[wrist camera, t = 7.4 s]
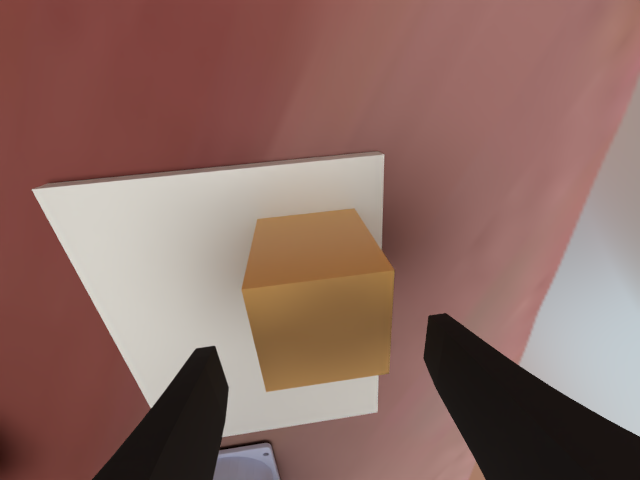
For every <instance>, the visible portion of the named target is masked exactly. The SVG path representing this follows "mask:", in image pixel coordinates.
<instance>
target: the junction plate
mask: <svg viewBox="0 0 640 480" xmlns="http://www.w3.org/2000/svg"><path fill="white" fill-rule="evenodd" d="M383 183H384V154H382V153H381V152H379V151H375V152H364V153H354V154H344V155H334V156H323V157H313V158H303V159H293V160H283V161H272V162H262V163H252V164H242V165H232V166H221V167H211V168H201V169H191V170H180V171H170V172H160V173H150V174H140V175H129V176H119V177H109V178H99V179H89V180H78V181H68V182H58V183H48V184H45V185H43V186H40V187H37V188H34V189H32V191H33V193H34V195H35V197H36V198H37V200H38V202H39V204H40V206H41V208H42V209H43V211H44V213H45V215H46V217H47V219H48V220H49V222H50V224H51V226H52V228H53V230H54V231H55V233H56V235H57V237H58V239H59V241H60V242H61V244H62V246H63V248H64V250H65V252H66V253H67V255H68V257H69V259H70V261H71V263H72V264H73V266H74V268H75V270H76V272H77V274H78V275H79V277H80V279H81V281H82V283H83V285H84V286H85V288H86V290H87V292H88V294H89V296H90V297H91V299H92V301H93V303H94V305H95V307H96V308H97V310H98V312H99V314H100V316H101V318H102V319H103V321H104V323H105V325H106V327H107V329H108V330H109V332H110V334H111V336H112V338H113V340H114V341H115V343H116V345H117V347H118V349H119V351H120V352H121V354H122V356H123V358H124V360H125V362H126V363H127V365H128V367H129V369H130V371H131V373H132V374H133V376H134V378H135V380H136V382H137V384H138V386H139V387H140V389H141V391H142V393H143V395H144V397H145V398H146V400H147V402H148V404H149V406H150V408H152V407H153V405H154V404H155V403H156V402H157V400H158V399H159V398H160V396H161V395H162V394H163V392H164V391H165V390H166V388H167V387H168V386H169V384H170V383H171V382H172V380H173V379H174V377H175V376H176V375H177V373H178V372H179V371H180V369H181V368H182V366H183V365H184V364H185V362H186V361H187V360H188V358H189V357H190V355H191V354H192V353H193V351H194V350H195V349H196V348H202V347H209V346H215V347H216V350H217V353H218V356H219V359H220V362H221V365H222V368H223V371H224V374H225V377H226V380H227V383H228V386H229V392H228V402H227V411H226V420H225V425H224V430H223V435H222V437H227V436H233V435H239V434H245V433H252V432H258V431H264V430H270V429H277V428H283V427H289V426H295V425H301V424H308V423H314V422H320V421H326V420H333V419H339V418H345V417H351V416H357V415H364V414H370V413H376V412H378V375H376V376H370V377H363V378H356V379H350V380H343V381H336V382H330V383H323V384H316V385H310V386H303V387H296V388H290V389H283V390H277V391H270V392H266V389H265V385H264V381H263V377H262V373H261V369H260V365H259V360H258V356H257V352H256V348H255V344H254V340H253V336H252V331H251V327H250V323H249V319H248V315H247V311H246V307H245V303H244V298H243V294H242V290H241V289H242V285H243V280H244V276H245V271H246V267H247V262H248V258H249V253H250V249H251V245H252V240H253V236H254V231H255V227H256V222H257V219H262V218H271V217H280V216H289V215H298V214H307V213H316V212H326V211H335V210H344V209H353V208H355V210H356V211H357V213H358V215H359V216H360V218H361V219H362V221H363V222H364V224H365V225H366V227H367V228H368V230H369V232H370V233H371V235H372V236H373V238H374V239H375V241H376V242H377V244H378V246H379V247H380V249H381V250H382V221H383Z"/></svg>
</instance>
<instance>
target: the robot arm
mask: <svg viewBox="0 0 640 480" xmlns="http://www.w3.org/2000/svg"><path fill="white" fill-rule="evenodd" d="M424 361H425V363H426V366H427V368H428V371H429V373H430V375H431V378H432V380H433V382H434V385H435V387H436V389H437V391H438V393H439V395H440V397H441V398H442V400H443V402H444V404H445V406H446V407H447V409H448V411H449V413H450V415H451V417H452V418H453V420H454V422H455V424H456V425H457V427H458V429H459V431H460V433H461V434H462V436H463V438H464V440H465V442H466V443H467V445H468V447H469V449H470V451H471V452H472V454H473V456H474V458H475V460H476V462H477V463H478V465H479V467H480V469H481V471H482V473H483V475H484V477H485V479H486V480H640V437H639V436H637V435H636V434H633V433H632V432H630V431H628V430H626V429H624V428H622V427H620V426H618V425H617V424H615V423H613V422H611V421H609V420H607V419H606V418H604V417H602V416H600V415H598V414H597V413H595V412H593V411H591V410H590V409H588V408H586V407H585V406H583V405H581V404H579V403H578V402H576V401H574V400H572V399H570V398H569V397H567V396H566V395H564V394H562V393H561V392H559V391H557V390H556V389H554V388H553V387H551V386H549V385H548V384H546V383H545V382H543V381H542V380H540V379H539V378H537V377H535V376H534V375H532V374H531V373H529V372H528V371H526V370H525V369H523V368H522V367H520V366H519V365H517V364H516V363H514V362H513V361H511V360H510V359H509V358H507V357H506V356H504V355H503V354H501V353H500V352H499V351H497V350H496V349H494V348H493V347H492V346H490V345H489V344H487V343H486V342H485V341H483V340H482V339H480V338H479V337H478V336H476V335H475V334H474V333H472V332H471V331H470V330H468V329H467V328H466V327H464V326H463V325H461V324H460V323H459V322H457V321H456V320H455V319H453V318H452V317H450V316H449V315H448V314H446V313H444V314H437V315H430V316H429V317H428V326H427V334H426V342H425V350H424ZM228 392H229V386H228V383H227V380H226V377H225V374H224V371H223V368H222V365H221V362H220V359H219V356H218V353H217V350H216V347H215V346H209V347H202V348H196V349H195V350H194V351H193V353H192V354H191V355H190V357H189V358H188V360H187V361H186V362H185V364H184V365H183V366H182V368H181V369H180V371H179V372H178V373H177V375H176V376H175V377H174V379H173V380H172V382H171V383H170V384H169V386H168V387H167V388H166V390H165V391H164V392H163V394H162V395H161V396H160V398H159V399H158V400H157V402H156V403H155V404H154V405H153V407H152V408H151V409H150V411H149V412H148V413H147V415H146V416H145V417H144V418H143V420H142V421H141V422H140V423H139V425H138V426H137V427H136V428H135V430H134V431H133V432H132V433H131V434H130V436H129V437H128V438H127V439H126V441H125V442H124V443H123V444H122V445H121V447H120V448H119V449H118V450H117V451H116V453H115V454H114V455H113V456H112V457H111V459H110V460H109V461H108V462H107V463H106V464H105V465H104V467H103V468H102V469H101V470H100V471H99V472H98V473H97V475H96V476H95V477H94V478H93V479H92V480H280V477H279V473H278V469H277V466H276V462H275V458H274V454H273V451H272V447H271V445H270V444H269V443H261V444H255V445H249V446H243V447H237V448H231V449H225V450H219V449H220V444H221V440H222V435H223V430H224V425H225V420H226V411H227V402H228Z"/></svg>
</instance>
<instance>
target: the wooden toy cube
mask: <svg viewBox="0 0 640 480" xmlns="http://www.w3.org/2000/svg"><path fill="white" fill-rule="evenodd" d="M394 271H395V270H394V269H393V267H392V266H391V264H390V263H389V261H388V259H387V258H386V256H385V255H384V253H383V252H382V250H381V249H380V247H379V246H378V244H377V242H376V241H375V239H374V238H373V236H372V235H371V233H370V232H369V230H368V228H367V227H366V225H365V224H364V222H363V221H362V219H361V218H360V216H359V215H358V213H357V211H356V210H355V208H353V209H344V210H335V211H326V212H316V213H307V214H298V215H289V216H280V217H271V218H262V219H257V222H256V227H255V231H254V236H253V240H252V245H251V249H250V253H249V258H248V262H247V267H246V271H245V276H244V280H243V285H242V289H241V290H242V294H243V298H244V303H245V307H246V311H247V315H248V319H249V323H250V327H251V331H252V336H253V340H254V344H255V348H256V352H257V356H258V360H259V365H260V369H261V373H262V377H263V381H264V385H265V389H266V392H270V391H277V390H283V389H290V388H296V387H303V386H310V385H316V384H323V383H330V382H336V381H343V380H350V379H356V378H363V377H370V376H376V375H383V374H389V365H390V346H391V328H392V309H393V290H394Z"/></svg>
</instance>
